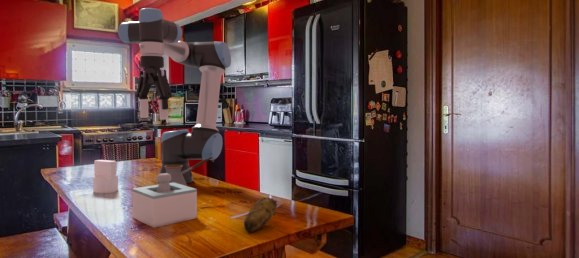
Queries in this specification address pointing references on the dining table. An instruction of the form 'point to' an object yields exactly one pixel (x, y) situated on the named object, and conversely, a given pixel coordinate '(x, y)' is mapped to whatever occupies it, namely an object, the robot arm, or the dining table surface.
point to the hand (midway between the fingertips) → (153, 118)
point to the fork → (248, 212)
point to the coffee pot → (178, 175)
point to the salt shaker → (163, 182)
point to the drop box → (164, 204)
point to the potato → (260, 214)
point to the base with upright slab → (105, 176)
